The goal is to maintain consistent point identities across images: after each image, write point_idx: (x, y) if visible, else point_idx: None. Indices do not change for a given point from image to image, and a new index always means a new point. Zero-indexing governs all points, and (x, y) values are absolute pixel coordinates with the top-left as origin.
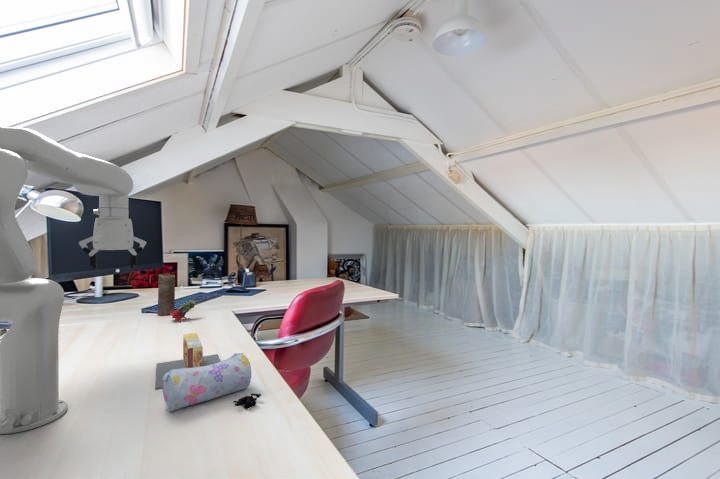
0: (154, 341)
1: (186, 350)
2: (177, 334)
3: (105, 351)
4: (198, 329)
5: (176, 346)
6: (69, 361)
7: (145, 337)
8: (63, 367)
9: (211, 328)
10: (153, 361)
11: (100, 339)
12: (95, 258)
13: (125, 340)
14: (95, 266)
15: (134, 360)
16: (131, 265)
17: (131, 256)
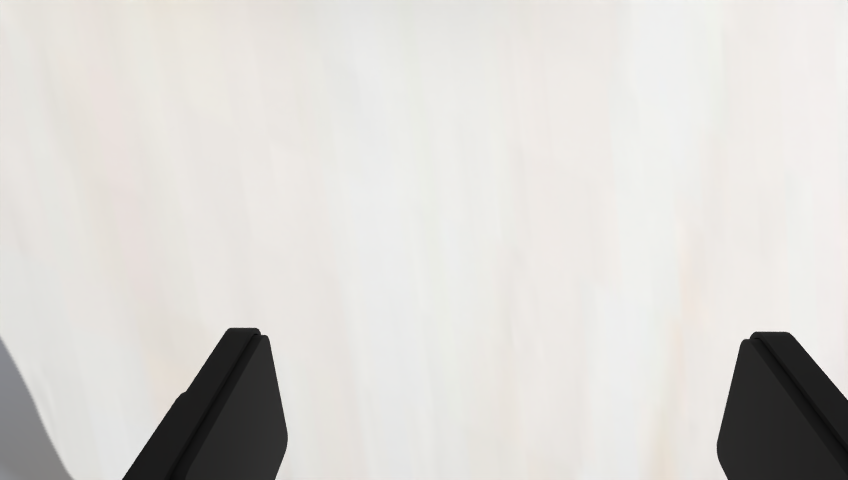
0: (350, 309)
1: None
2: None
3: (529, 258)
4: None
5: (245, 201)
6: (654, 186)
7: (394, 377)
8: (671, 114)
9: (136, 390)
10: (312, 24)
11: (564, 419)
12: (846, 468)
13: (468, 369)
14: (761, 355)
15: (397, 78)
16: (237, 342)
17: (164, 472)
